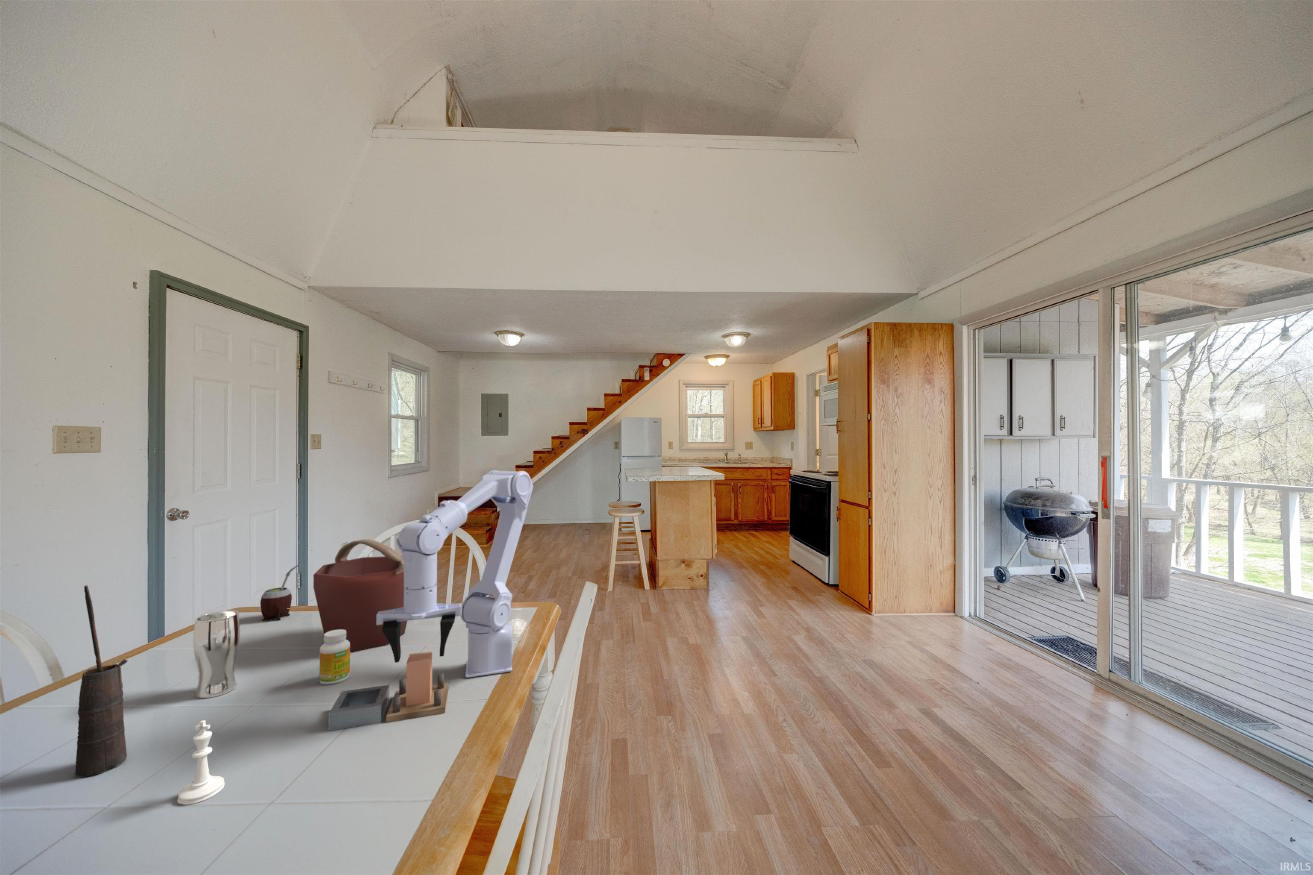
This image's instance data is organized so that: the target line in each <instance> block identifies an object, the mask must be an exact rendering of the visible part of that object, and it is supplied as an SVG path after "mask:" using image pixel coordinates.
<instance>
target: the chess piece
mask: <svg viewBox="0 0 1313 875" xmlns="http://www.w3.org/2000/svg"><path fill="white" fill-rule="evenodd" d="M206 722H207V721H206V720H204V719H203V720H200V722H199V724H197V725H196V726H194V730H195V731H199V732H198V733H197V734H195V735H194V736H193V737H192V741H193V743H194V745H195V748H196V750H195V751H193V753H192V754H191V757H192V758H193V759H194V758H195V759H197V760H196V766H195V767H196V768H195V773H194V779H193V781H191V782H190V783H189V784H188V785H186V786H185V787H183V788H182V789H181V790H180V791H179V793H178V795H177V796H178V797H177V803H178V804H180V805H184V806H185V805H187V806H188V805H193V804H198V803H200V802H204V801H205V800H209V799H210V798H212V797H214V796H215V795H217V794H219V792H221V791H222V790H223V789H224V787H225V784H226V783H225V778H224V777H222V776H219V775H211V774H210V770H209V763H208V755H209V754H211V753H212V751H213V748H212V746H208V745H209V744H210V740H211V738H212V736H213V732H212V731H210V730H209V729H210V728H211V724H206Z"/></svg>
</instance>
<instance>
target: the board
mask: <svg viewBox="0 0 1313 875" xmlns="http://www.w3.org/2000/svg"><path fill="white" fill-rule="evenodd" d="M398 684H399V685H398V690H396V691H395V692H394V696H393V697H392V700H391V703H390V706H389V709H388V712H387V714H386V720H385V722H386V723H390V722H396V721H404V720H407V719H408V720H409V719H414V718H415V719H416V718H421V717H428V716H434V715H440V714H444V713H446V710H447V709H446V708H447V701H448V696H449V688H450V684H449V683H445V674H444V673H439V674H437V684H436V685H432V695H431V699H430V703H423V704H417V705H410V706H406V678H402V679H399V682H398Z"/></svg>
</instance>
